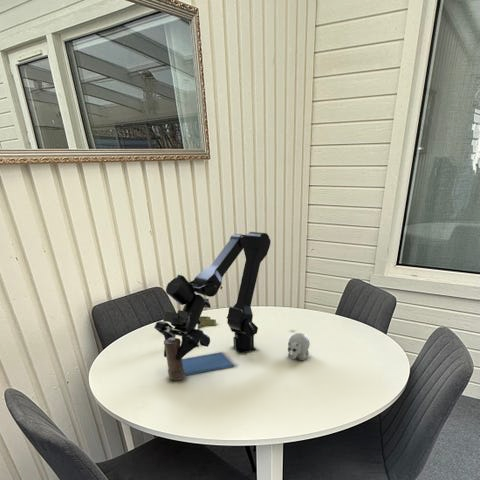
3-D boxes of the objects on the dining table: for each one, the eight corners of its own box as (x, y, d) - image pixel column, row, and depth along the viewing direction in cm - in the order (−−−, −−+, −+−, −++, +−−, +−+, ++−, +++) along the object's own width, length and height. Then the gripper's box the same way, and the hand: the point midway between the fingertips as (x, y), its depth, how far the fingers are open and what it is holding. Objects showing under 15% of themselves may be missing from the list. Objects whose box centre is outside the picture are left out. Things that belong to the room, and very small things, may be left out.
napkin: (221, 353, 148) (221, 352, 147) (234, 366, 137) (234, 365, 137) (175, 361, 143) (174, 360, 142) (184, 375, 132) (184, 374, 132)
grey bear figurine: (279, 364, 137) (279, 340, 133) (292, 352, 146) (293, 328, 142) (299, 368, 134) (300, 343, 130) (311, 355, 143) (313, 331, 139)
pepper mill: (182, 372, 133) (177, 334, 126) (186, 378, 129) (182, 339, 122) (167, 374, 131) (161, 337, 125) (170, 381, 127) (165, 342, 121)
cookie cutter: (194, 335, 164) (194, 331, 163) (171, 331, 169) (170, 326, 168) (219, 323, 177) (219, 318, 176) (197, 319, 182) (196, 314, 181)
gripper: (154, 295, 125) (132, 340, 124) (200, 303, 116) (178, 353, 114) (175, 313, 135) (155, 356, 133) (219, 322, 125) (199, 369, 124)
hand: (170, 358), depth 126 cm, fingers closed on pepper mill, 4 cm apart
